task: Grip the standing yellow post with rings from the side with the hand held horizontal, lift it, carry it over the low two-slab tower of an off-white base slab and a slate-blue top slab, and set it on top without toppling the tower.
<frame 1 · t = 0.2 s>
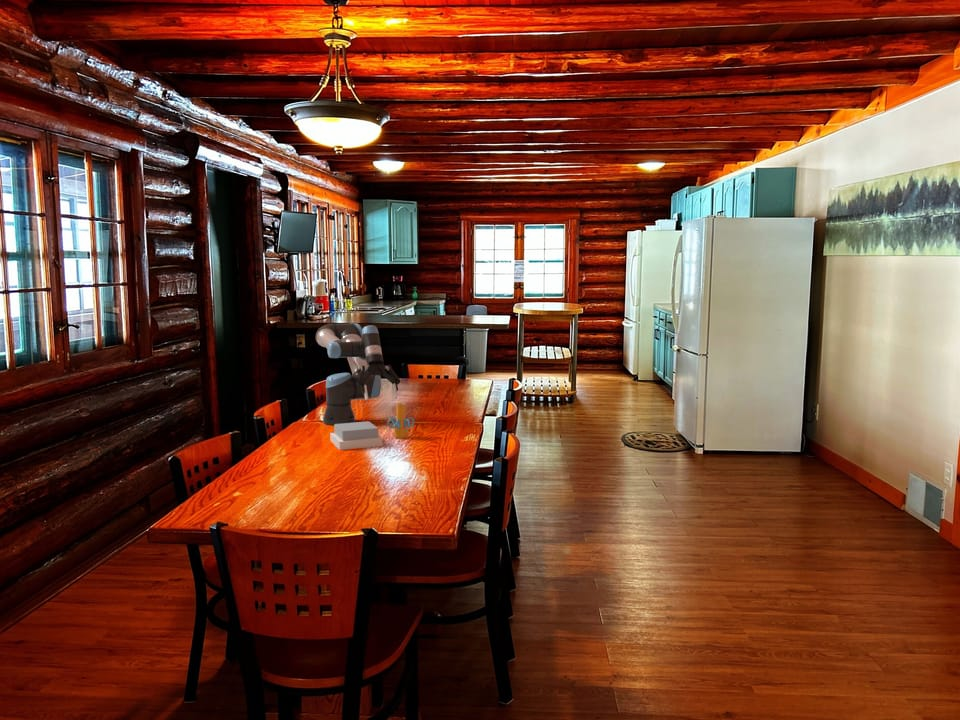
hand: (381, 398, 325), 15 cm above the table, tool tilted 35°, fingers open, 13 cm apart
yellow post with rings: (401, 437, 317), on the table
tower base: (356, 444, 306), on the table, touching tower top
tower top: (356, 435, 305), point 3 cm above the table, touching tower base
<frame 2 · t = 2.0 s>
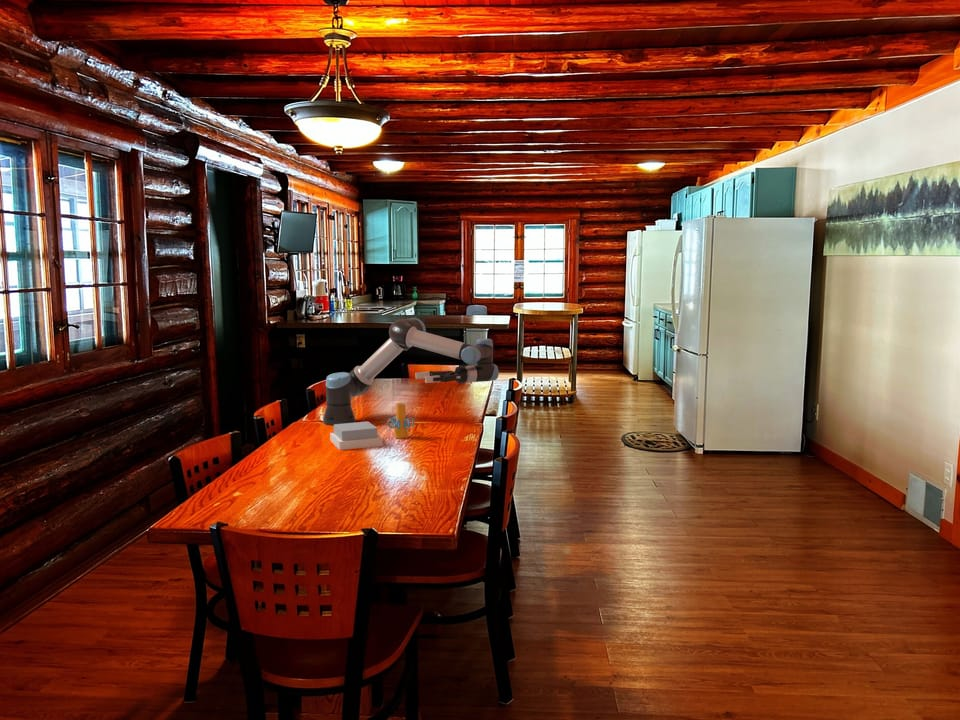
hand: (420, 377, 317), 26 cm above the table, tool horizontal, fingers open, 13 cm apart
nothing on the table moved.
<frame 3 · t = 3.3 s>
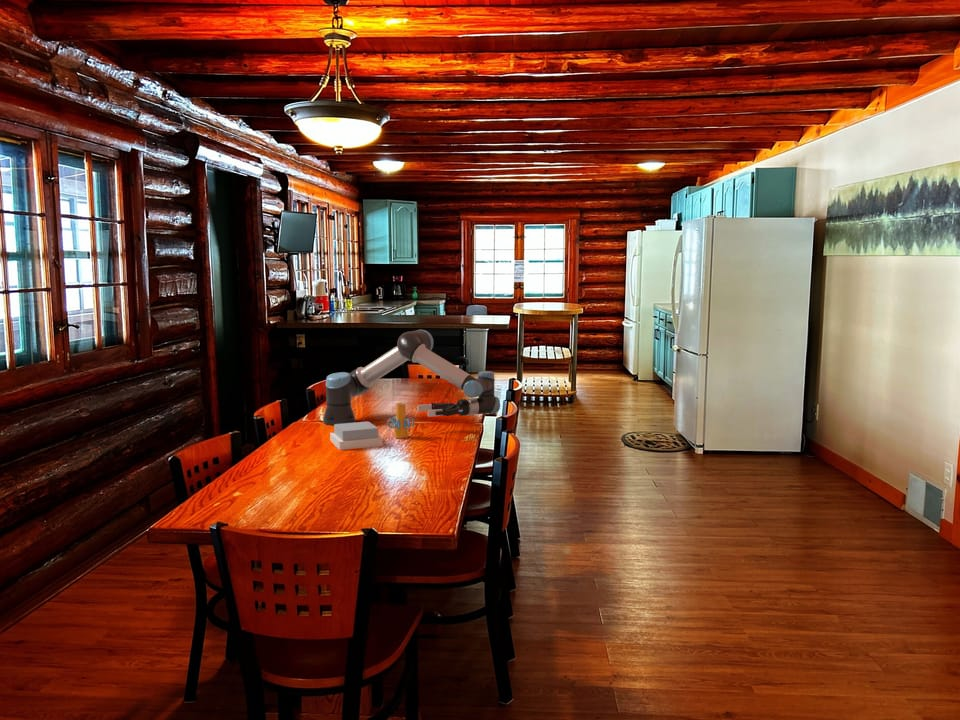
hand: (422, 410, 319), 11 cm above the table, tool horizontal, fingers open, 13 cm apart
tower base: (356, 444, 306), on the table
tower top: (356, 435, 305), point 3 cm above the table
everything else where it was.
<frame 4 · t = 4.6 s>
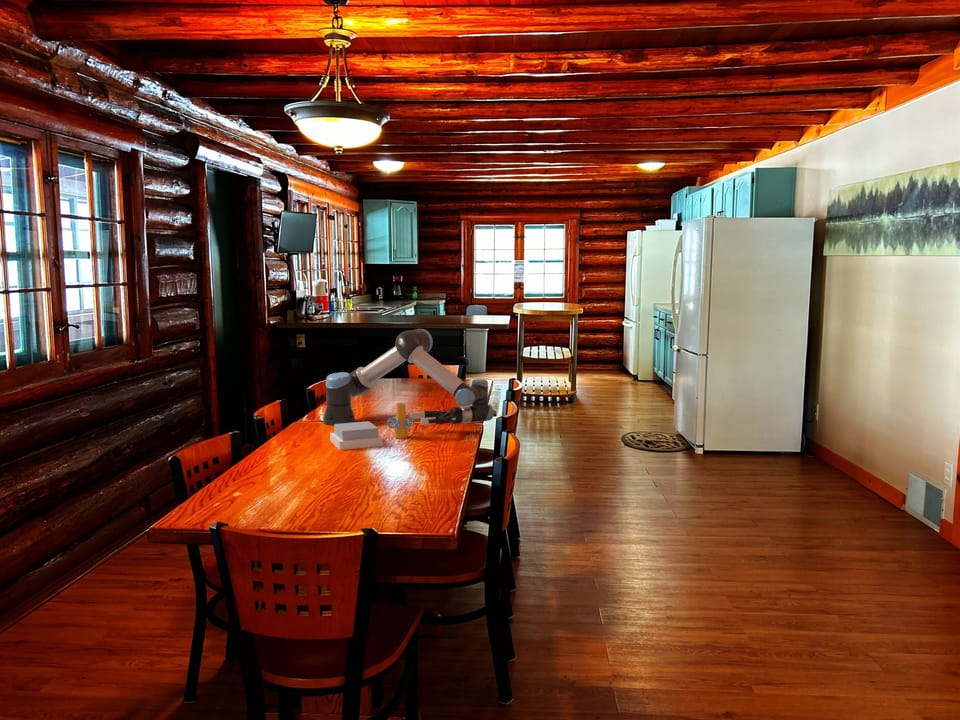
hand: (415, 418, 318), 8 cm above the table, tool horizontal, fingers open, 13 cm apart
tower base: (355, 444, 306), on the table, touching tower top
tower top: (356, 435, 305), point 3 cm above the table, touching tower base
everything else where it was.
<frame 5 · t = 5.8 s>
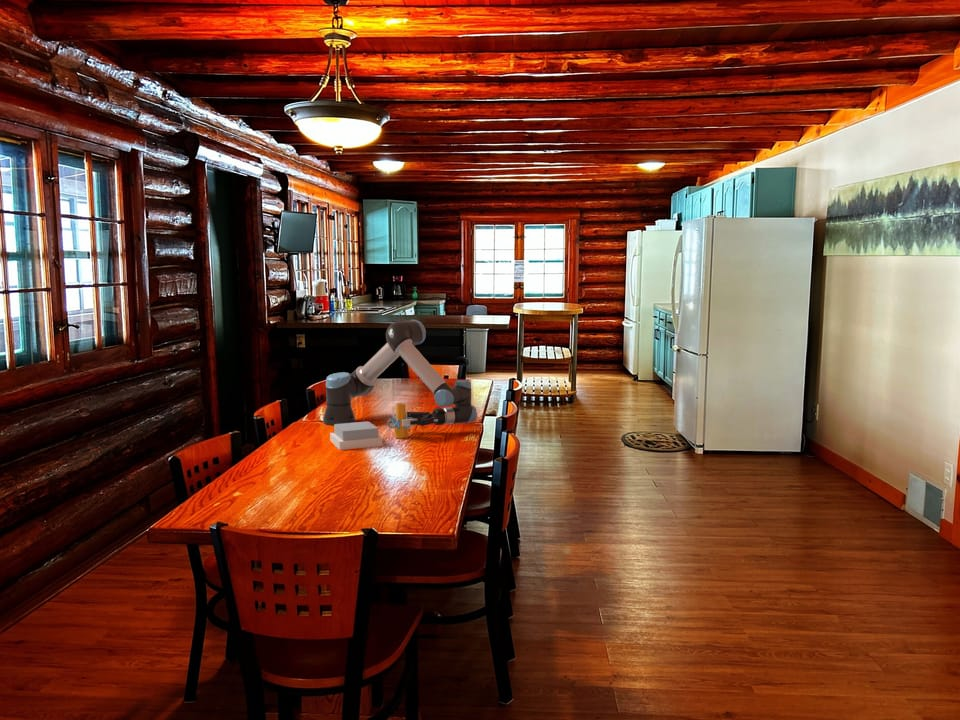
hand: (397, 420, 315), 8 cm above the table, tool horizontal, fingers open, 13 cm apart
nothing on the table moved.
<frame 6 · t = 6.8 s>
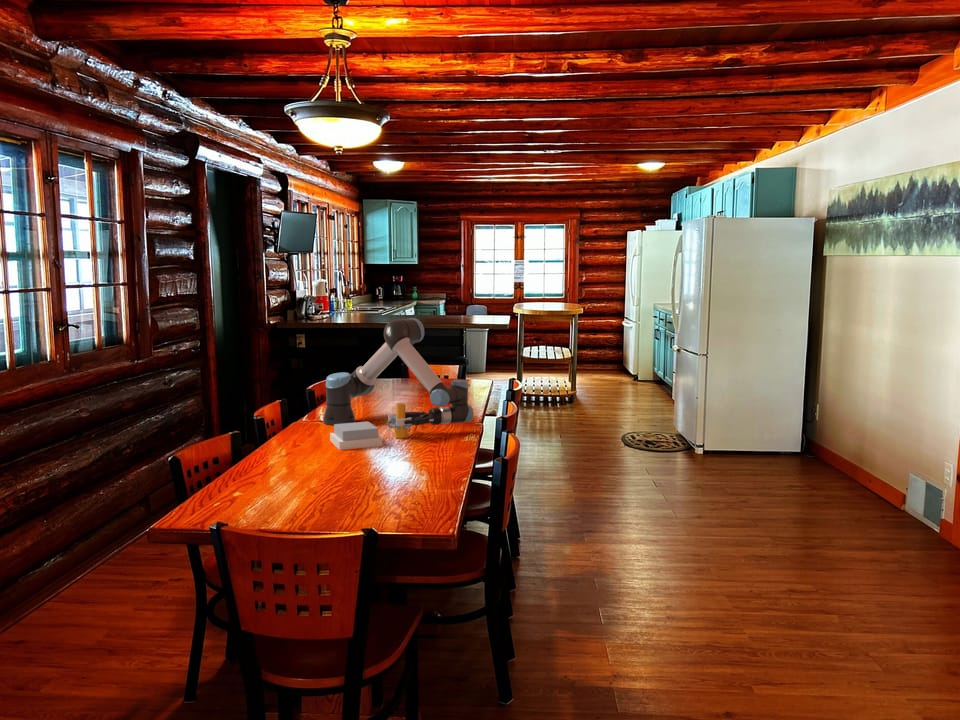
hand: (392, 419, 314), 8 cm above the table, tool horizontal, fingers closed on yellow post with rings, 11 cm apart
yellow post with rings: (401, 437, 317), on the table, touching gripper
everything else where it was.
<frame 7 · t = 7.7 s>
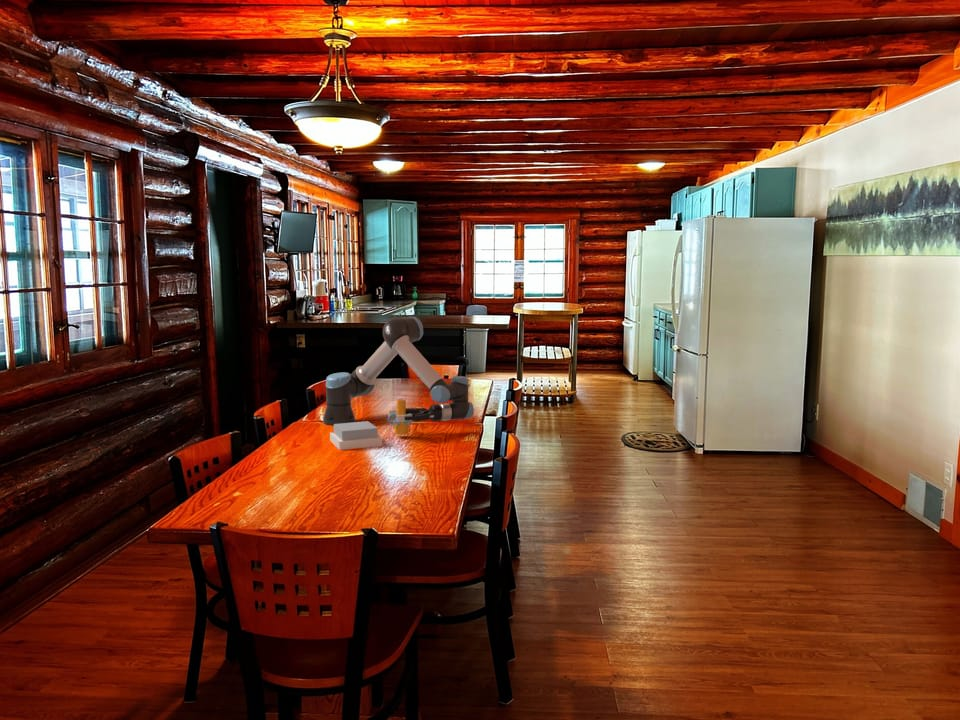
hand: (392, 416, 314), 10 cm above the table, tool horizontal, fingers closed on yellow post with rings, 11 cm apart
yellow post with rings: (401, 433, 316), point 2 cm above the table, touching gripper
everything else where it was.
when the fingers open (17 cm above the table, at t = 13.2 s): yellow post with rings drops 2 cm, resting on tower top.
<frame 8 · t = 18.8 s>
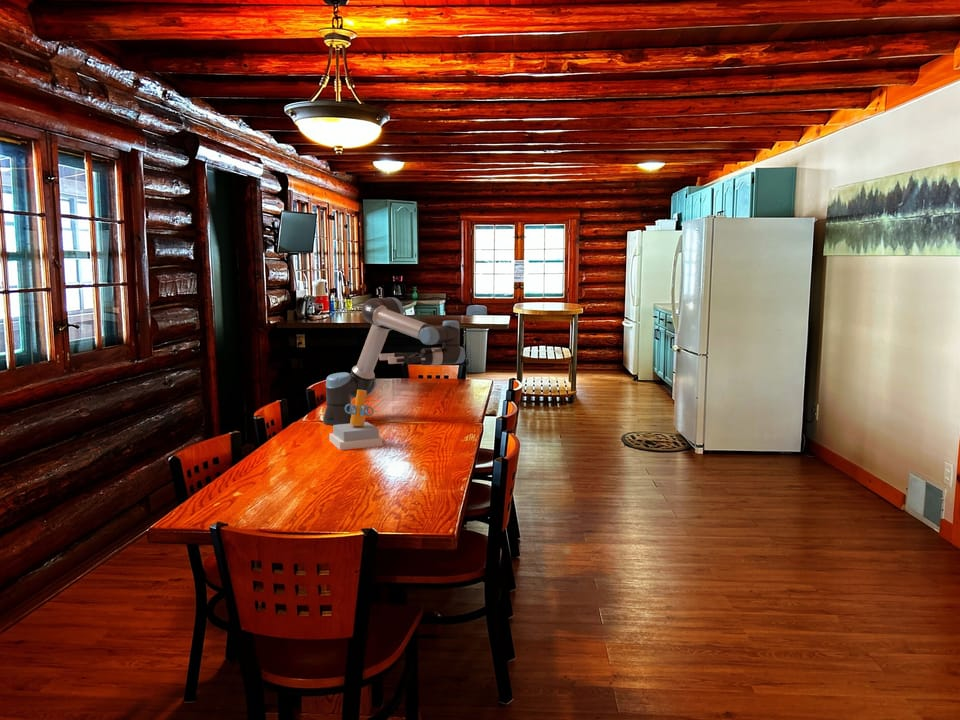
hand: (384, 358, 309), 35 cm above the table, tool horizontal, fingers open, 13 cm apart
yellow post with rings: (356, 425, 305), point 7 cm above the table, touching tower top
tower top: (355, 436, 305), point 3 cm above the table, touching yellow post with rings, tower base
everything else where it was.
at the end: yellow post with rings inside the target area on the tower top (0.5 cm from its centre), point 4.4 cm above the tower top's base; yellow post with rings tilted 11°; tower top 0.2 cm off-centre on the tower base, point 4.0 cm above the tower base's base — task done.
